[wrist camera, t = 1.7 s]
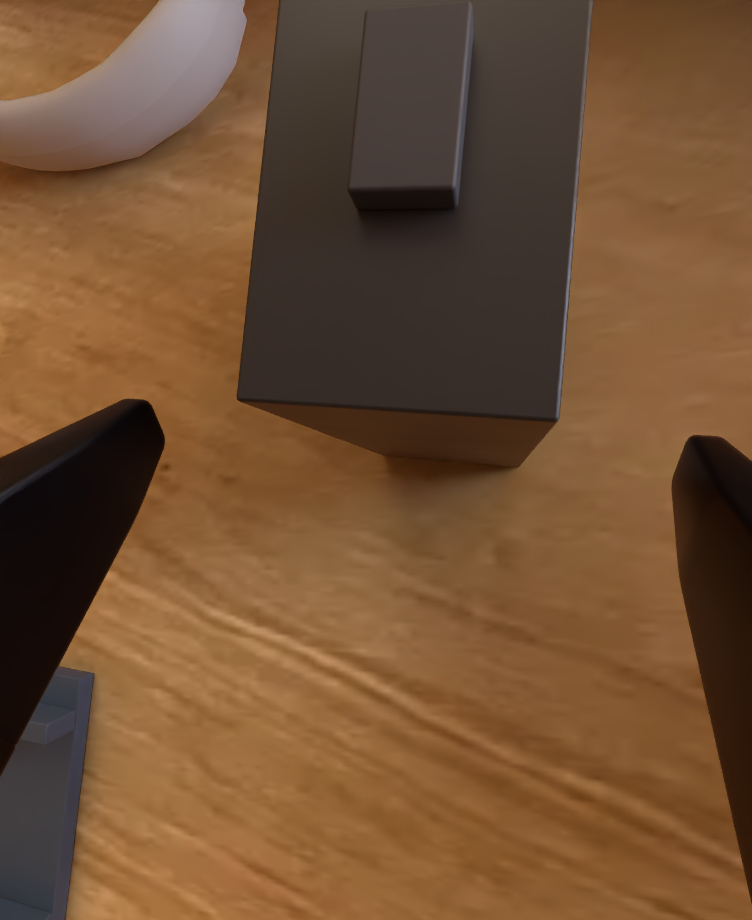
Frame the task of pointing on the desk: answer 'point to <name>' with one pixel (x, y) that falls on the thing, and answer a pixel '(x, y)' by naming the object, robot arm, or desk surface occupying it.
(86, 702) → the stand
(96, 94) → the headphones
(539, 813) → the desk surface
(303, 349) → the battery pack
